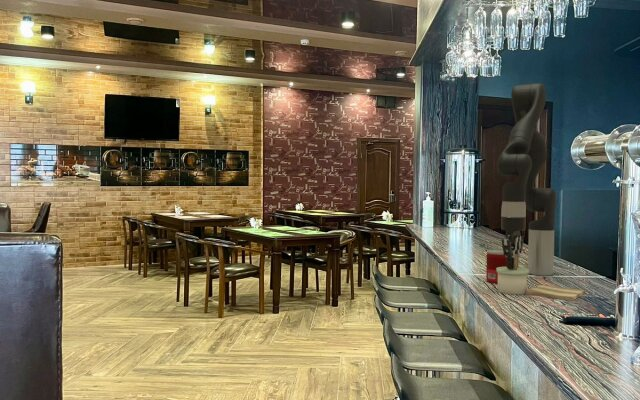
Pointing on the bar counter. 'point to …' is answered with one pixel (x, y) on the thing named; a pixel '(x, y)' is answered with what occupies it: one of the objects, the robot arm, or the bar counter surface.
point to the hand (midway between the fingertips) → (512, 267)
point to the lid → (513, 271)
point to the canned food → (494, 264)
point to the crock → (512, 284)
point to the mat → (556, 292)
